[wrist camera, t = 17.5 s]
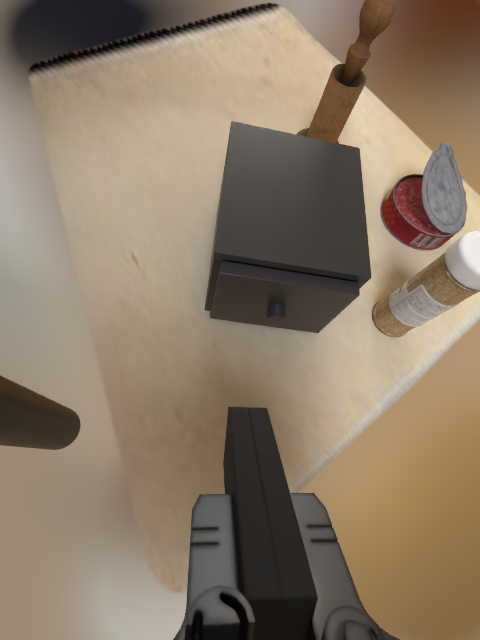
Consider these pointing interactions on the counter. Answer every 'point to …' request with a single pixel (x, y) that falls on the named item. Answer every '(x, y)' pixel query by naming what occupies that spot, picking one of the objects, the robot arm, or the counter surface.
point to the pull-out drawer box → (279, 296)
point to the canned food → (427, 203)
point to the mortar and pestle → (349, 74)
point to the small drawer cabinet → (291, 206)
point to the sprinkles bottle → (432, 288)
